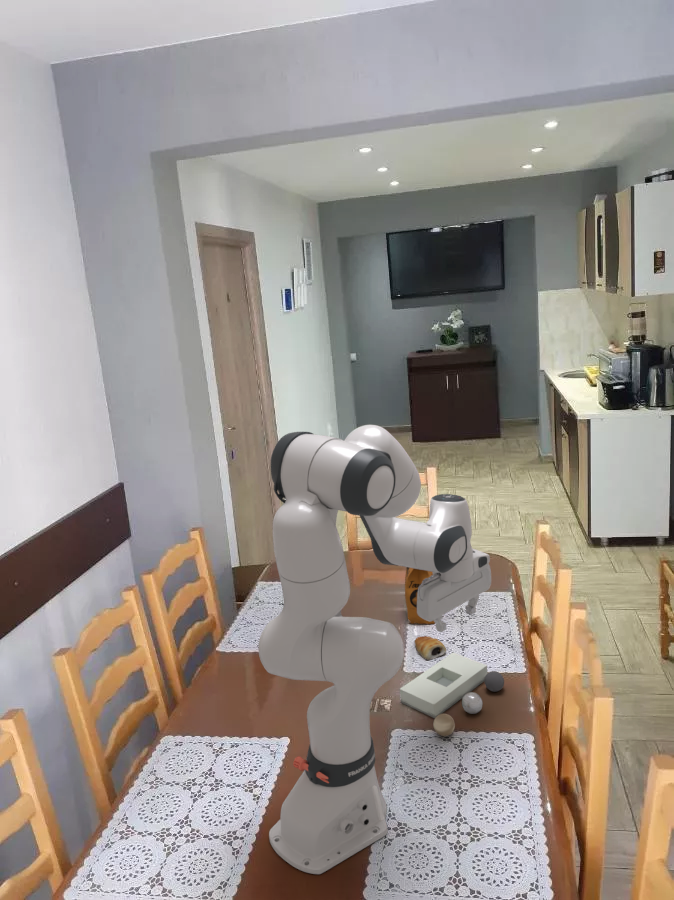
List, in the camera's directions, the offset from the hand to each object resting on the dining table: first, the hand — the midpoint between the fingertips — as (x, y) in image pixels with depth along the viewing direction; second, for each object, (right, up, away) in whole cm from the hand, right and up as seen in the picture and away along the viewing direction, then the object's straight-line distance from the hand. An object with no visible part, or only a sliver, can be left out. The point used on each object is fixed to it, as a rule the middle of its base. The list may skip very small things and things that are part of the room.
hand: (456, 621), depth 159 cm
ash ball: (-4, -20, -7) cm, 22 cm away
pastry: (-2, -15, +27) cm, 31 cm away
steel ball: (+3, -18, 0) cm, 18 cm away
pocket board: (-1, -18, +10) cm, 21 cm away
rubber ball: (+10, -16, +7) cm, 20 cm away
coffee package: (-2, -10, +47) cm, 48 cm away
